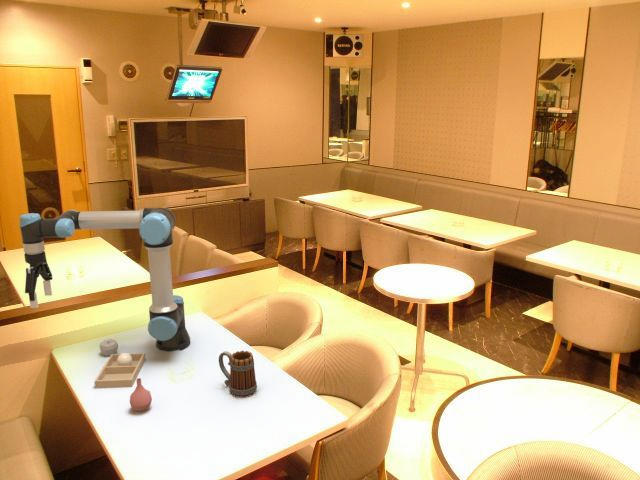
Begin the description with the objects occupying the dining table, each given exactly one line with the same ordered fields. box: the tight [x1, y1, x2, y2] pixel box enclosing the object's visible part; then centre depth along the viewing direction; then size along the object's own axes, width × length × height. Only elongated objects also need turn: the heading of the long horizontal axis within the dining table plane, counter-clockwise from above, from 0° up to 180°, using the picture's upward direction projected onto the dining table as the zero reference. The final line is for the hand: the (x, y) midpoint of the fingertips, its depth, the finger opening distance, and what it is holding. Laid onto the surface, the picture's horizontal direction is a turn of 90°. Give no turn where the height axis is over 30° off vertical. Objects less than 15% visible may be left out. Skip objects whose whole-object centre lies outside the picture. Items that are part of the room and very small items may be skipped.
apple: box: [99, 338, 119, 357], centre depth 239 cm, size 8×8×7 cm
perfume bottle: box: [129, 377, 153, 412], centre depth 198 cm, size 8×8×12 cm
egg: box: [117, 352, 132, 366], centre depth 227 cm, size 6×6×6 cm
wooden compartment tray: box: [94, 352, 147, 389], centre depth 223 cm, size 14×22×4 cm, turn 4°
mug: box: [218, 350, 258, 398], centre depth 210 cm, size 16×11×15 cm
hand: (41, 301), depth 226 cm, fingers open, 13 cm apart
